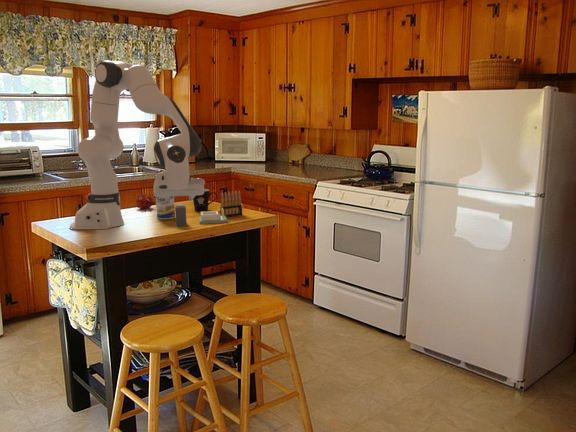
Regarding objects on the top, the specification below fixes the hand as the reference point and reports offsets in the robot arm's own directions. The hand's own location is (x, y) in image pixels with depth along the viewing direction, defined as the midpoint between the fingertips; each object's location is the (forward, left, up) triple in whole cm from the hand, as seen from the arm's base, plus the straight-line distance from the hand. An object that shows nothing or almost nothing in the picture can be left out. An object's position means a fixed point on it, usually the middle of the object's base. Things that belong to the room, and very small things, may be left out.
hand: (179, 199), depth 231 cm
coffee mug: (+11, +42, -13) cm, 45 cm away
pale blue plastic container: (+14, +15, -13) cm, 24 cm away
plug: (0, +10, -13) cm, 16 cm away
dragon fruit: (-18, +54, -13) cm, 58 cm away
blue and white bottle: (-7, +27, -13) cm, 31 cm away
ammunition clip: (+23, +24, -13) cm, 36 cm away
